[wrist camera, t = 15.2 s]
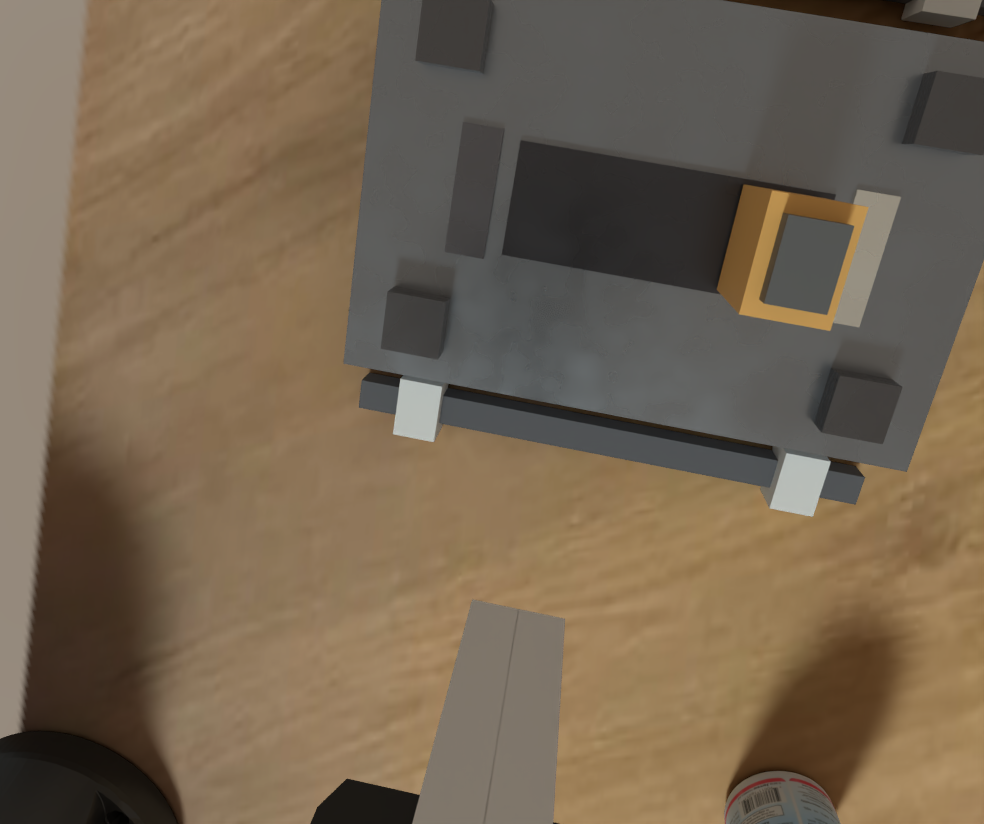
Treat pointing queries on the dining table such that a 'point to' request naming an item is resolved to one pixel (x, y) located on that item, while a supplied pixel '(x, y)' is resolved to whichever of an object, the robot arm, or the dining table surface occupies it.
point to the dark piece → (779, 471)
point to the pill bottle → (779, 801)
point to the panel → (665, 211)
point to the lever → (789, 256)
